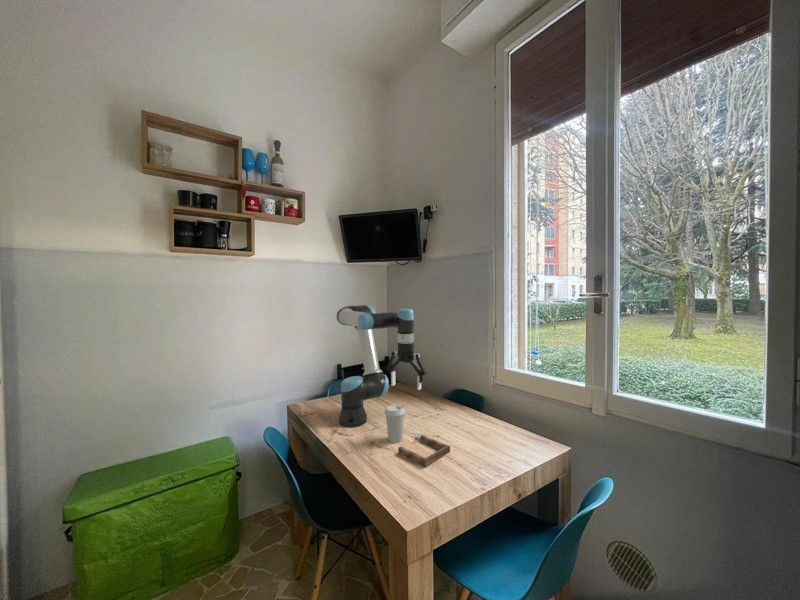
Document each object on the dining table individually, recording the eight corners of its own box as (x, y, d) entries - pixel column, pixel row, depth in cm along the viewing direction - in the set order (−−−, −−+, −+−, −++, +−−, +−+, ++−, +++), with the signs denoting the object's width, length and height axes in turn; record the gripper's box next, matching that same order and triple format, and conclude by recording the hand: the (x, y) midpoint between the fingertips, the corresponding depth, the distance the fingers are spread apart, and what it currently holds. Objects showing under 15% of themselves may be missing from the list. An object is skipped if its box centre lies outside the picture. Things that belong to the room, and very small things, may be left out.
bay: (398, 453, 130) (398, 447, 130) (422, 440, 142) (422, 434, 142) (426, 467, 120) (426, 461, 120) (450, 451, 131) (450, 446, 131)
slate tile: (415, 439, 143) (415, 436, 143) (418, 435, 147) (418, 433, 147) (422, 440, 141) (422, 438, 141) (426, 437, 145) (426, 435, 145)
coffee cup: (403, 445, 138) (402, 412, 137) (383, 443, 140) (382, 411, 139) (407, 435, 147) (406, 404, 147) (388, 434, 149) (387, 403, 149)
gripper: (378, 341, 144) (379, 385, 145) (427, 345, 133) (427, 393, 133) (386, 339, 151) (387, 381, 152) (433, 342, 139) (434, 388, 140)
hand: (406, 387), depth 142 cm, fingers open, 13 cm apart
